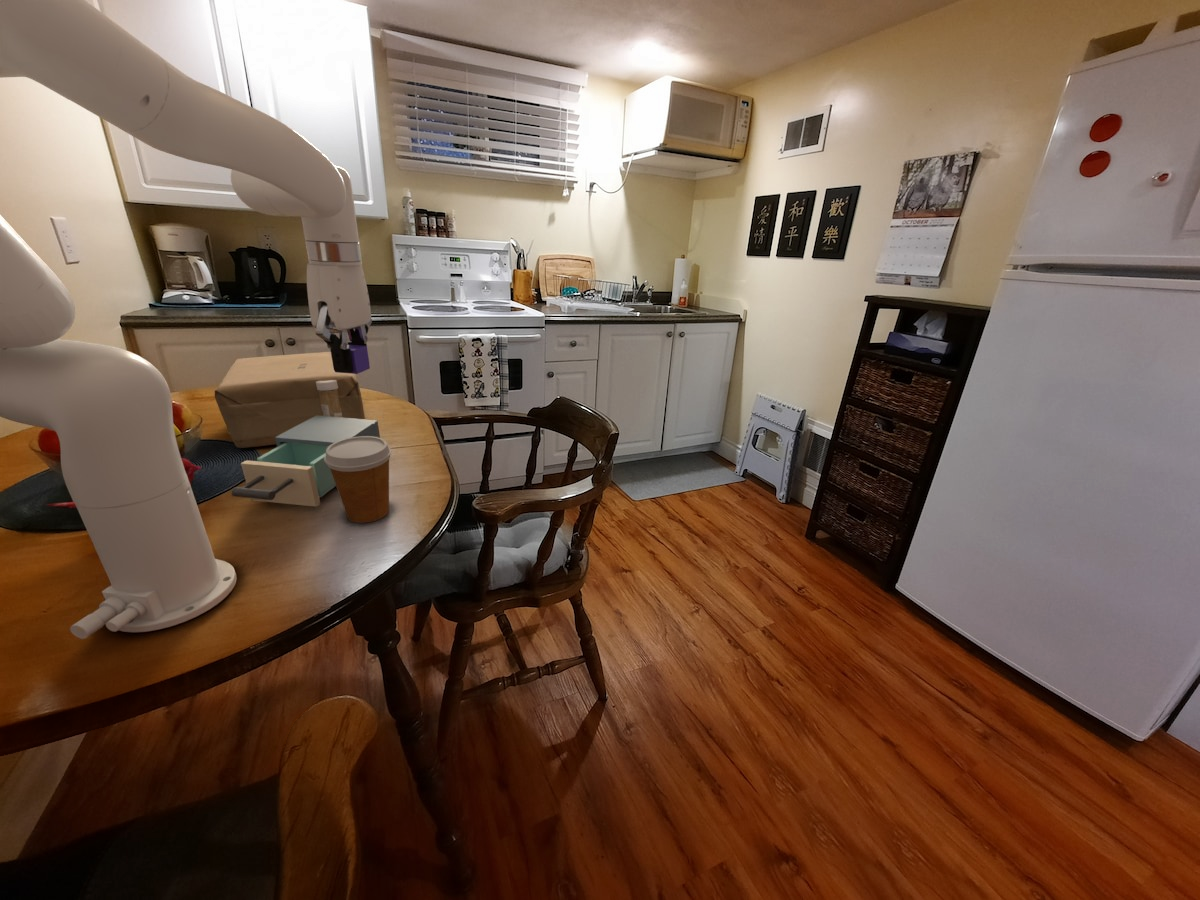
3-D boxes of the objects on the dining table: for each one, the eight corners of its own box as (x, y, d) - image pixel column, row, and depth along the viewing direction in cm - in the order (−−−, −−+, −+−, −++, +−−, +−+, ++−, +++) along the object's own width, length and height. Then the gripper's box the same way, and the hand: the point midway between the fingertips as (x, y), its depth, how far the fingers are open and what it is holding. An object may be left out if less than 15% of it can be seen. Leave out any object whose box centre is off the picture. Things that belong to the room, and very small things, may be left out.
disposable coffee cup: (337, 503, 83) (324, 438, 78) (398, 495, 87) (389, 432, 82) (334, 533, 75) (319, 463, 70) (400, 522, 79) (391, 455, 74)
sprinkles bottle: (350, 440, 107) (340, 380, 102) (327, 443, 105) (315, 383, 99) (347, 433, 110) (336, 375, 105) (324, 436, 108) (312, 377, 103)
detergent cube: (357, 374, 82) (353, 350, 81) (334, 372, 83) (330, 348, 81) (370, 368, 86) (366, 345, 84) (348, 366, 86) (345, 344, 85)
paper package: (245, 412, 119) (230, 355, 114) (361, 400, 130) (353, 348, 125) (227, 454, 98) (207, 386, 92) (368, 436, 109) (358, 375, 103)
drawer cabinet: (350, 487, 88) (342, 443, 85) (285, 480, 89) (274, 437, 86) (383, 460, 99) (377, 420, 95) (324, 454, 100) (316, 415, 96)
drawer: (292, 525, 75) (282, 486, 72) (223, 518, 76) (210, 479, 73) (352, 477, 90) (346, 443, 87) (293, 472, 91) (285, 438, 88)
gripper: (344, 252, 85) (359, 356, 92) (273, 254, 70) (298, 379, 77) (385, 254, 84) (397, 359, 92) (323, 257, 69) (343, 383, 76)
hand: (352, 367), depth 84 cm, fingers closed on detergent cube, 4 cm apart
